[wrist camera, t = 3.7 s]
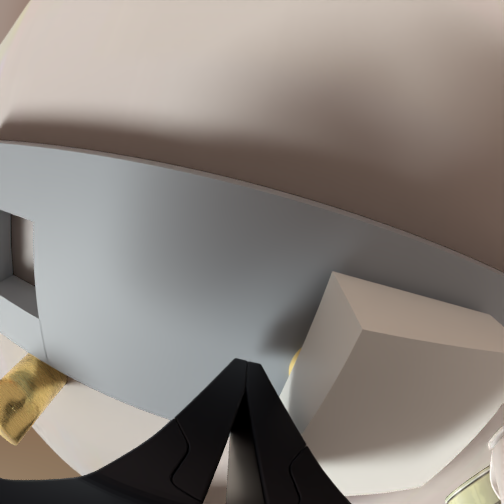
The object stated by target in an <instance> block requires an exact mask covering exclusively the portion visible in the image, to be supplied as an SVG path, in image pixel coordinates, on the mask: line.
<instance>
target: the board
mask: <svg viewBox="0 0 504 504" xmlns="http://www.w3.org/2000/svg"><path fill="white" fill-rule="evenodd" d="M11 214H13V215H16V216H19V217H21V218H24V219H27V220H30V221H32V222H33V256H34V276H35V286H33V285H31V284H29V283H27V282H25V281H23V280H22V279H20V278H18V277H16V276H14V275H13V268H12V253H11ZM332 271H334V272H337V273H341V274H345V275H348V276H352V277H356V278H359V279H363V280H366V281H370V282H374V283H377V284H381V285H385V286H388V287H392V288H396V289H399V290H403V291H406V292H410V293H414V294H417V295H421V296H425V297H428V298H432V299H435V300H439V301H443V302H446V303H450V304H453V305H457V306H461V307H464V308H468V309H471V310H475V311H479V312H482V313H486V314H489V315H491V316H492V317H493V318H494V319H495V320H497V321H498V322H499V323H500V324H501V325H502V326H503V327H504V273H503V272H501V271H499V270H497V269H495V268H492V267H490V266H488V265H486V264H484V263H481V262H479V261H477V260H475V259H472V258H470V257H468V256H465V255H463V254H461V253H458V252H456V251H453V250H451V249H449V248H446V247H444V246H441V245H439V244H436V243H434V242H431V241H429V240H426V239H424V238H421V237H418V236H416V235H413V234H410V233H408V232H405V231H402V230H400V229H397V228H394V227H391V226H389V225H386V224H383V223H380V222H377V221H374V220H372V219H369V218H366V217H363V216H360V215H357V214H354V213H351V212H348V211H345V210H342V209H338V208H335V207H332V206H329V205H326V204H323V203H319V202H316V201H313V200H309V199H306V198H303V197H299V196H296V195H292V194H289V193H285V192H282V191H278V190H275V189H271V188H267V187H264V186H260V185H256V184H252V183H249V182H245V181H241V180H237V179H233V178H229V177H225V176H221V175H216V174H212V173H208V172H204V171H199V170H195V169H190V168H186V167H181V166H176V165H172V164H167V163H162V162H157V161H152V160H146V159H141V158H136V157H130V156H125V155H119V154H113V153H107V152H100V151H94V150H87V149H80V148H73V147H65V146H57V145H49V144H40V143H30V142H19V141H7V140H0V333H1V334H3V335H4V336H5V337H7V338H8V339H9V340H11V341H12V342H14V343H15V344H17V345H18V346H19V347H21V348H22V349H24V350H25V351H27V352H28V353H30V354H32V355H33V356H35V357H36V358H38V359H39V360H41V361H43V362H44V363H46V364H48V365H49V366H51V367H53V368H54V369H56V370H58V371H60V372H61V373H63V374H65V375H67V376H69V377H71V378H73V379H74V380H76V381H78V382H80V383H82V384H84V385H86V386H88V387H90V388H92V389H94V390H96V391H98V392H101V393H103V394H105V395H107V396H109V397H112V398H114V399H116V400H119V401H121V402H123V403H126V404H128V405H131V406H133V407H136V408H138V409H141V410H143V411H146V412H149V413H152V414H154V415H157V416H160V417H163V418H166V419H169V420H172V419H174V417H175V416H176V415H177V414H178V413H179V412H181V411H182V410H183V409H184V408H185V407H186V406H187V405H188V404H189V403H190V402H191V401H192V400H193V399H194V398H195V397H196V396H197V395H198V394H199V393H200V392H201V391H202V390H203V389H204V388H205V387H206V386H207V385H208V384H209V383H210V382H211V381H212V380H213V379H214V378H215V377H216V376H217V375H218V374H219V373H220V372H221V371H222V370H223V369H224V368H225V367H226V366H227V365H228V364H229V363H230V362H231V361H232V360H233V359H234V358H239V359H243V360H247V361H251V362H256V363H260V364H261V365H262V367H263V368H264V370H265V372H266V374H267V376H268V378H269V379H270V381H271V383H272V385H273V387H274V388H275V390H276V392H277V394H278V396H280V394H281V392H282V390H283V388H284V386H285V383H286V381H287V379H288V377H289V375H290V373H291V371H292V368H293V366H294V364H295V362H296V360H297V357H298V355H299V353H300V351H301V348H302V346H303V344H304V341H305V339H306V337H307V334H308V332H309V329H310V327H311V325H312V322H313V320H314V317H315V315H316V312H317V310H318V307H319V305H320V302H321V300H322V297H323V295H324V292H325V289H326V287H327V284H328V281H329V279H330V276H331V273H332ZM229 436H230V435H229Z"/></svg>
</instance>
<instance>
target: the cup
mask: <svg viewBox="0 0 504 504" xmlns="http://www.w3.org/2000/svg"><path fill="white" fill-rule="evenodd" d="M488 448H489V449H492V448H493V449H492V455H491V463H490V482H491V486H492V488H493V490H494V492H495V494H496V495H497V496H498V498H499V499H500V500H501V504H504V425H503V426H502V427H501V428H500V429H499V430H498V431H497V432H496V433H495V434H494V436H493V437H492V438H491V439H490V440H489V441H488Z"/></svg>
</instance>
